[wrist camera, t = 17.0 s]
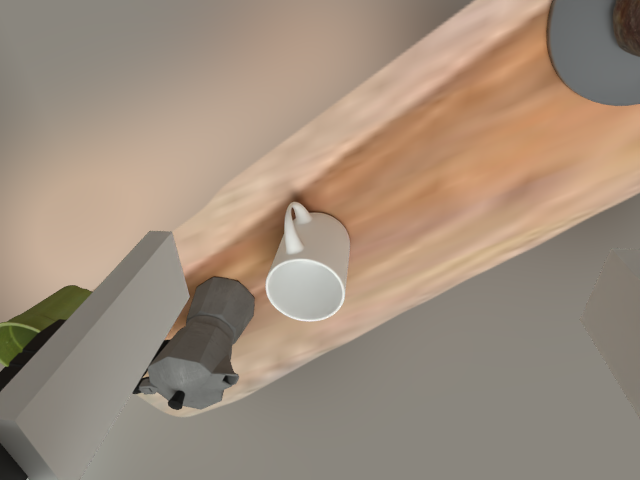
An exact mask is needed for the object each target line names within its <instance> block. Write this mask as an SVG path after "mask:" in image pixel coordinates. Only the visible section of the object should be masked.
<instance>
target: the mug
mask: <svg viewBox="0 0 640 480" xmlns="http://www.w3.org/2000/svg"><path fill="white" fill-rule="evenodd" d="M292 207H293V208H294V211H295V215H296V218H295V219H294V220H292V215H291V209H292ZM349 253H350V239H349V235H348V233H347V230H346V229H345V227H344V226H343V225H342V224H341V223H340V222H339V221H338V220H337V219H335V218H334V217H332V216H330V215H327V214H324V213H309V212H308V211H307V210H306V208H305V207H304V206H303V205H302V204H300V203H298V202H292V203H291V204H290V205H289V206H288V208H287V211H286V215H285V223H284V235H283V237H282V240H281V243H280V245H279V248H278V250H277V253H276V256H275V258H274V261H273V263H272V266H271V268H270V271H269V274H268V276H267V279H266V285H265V286H266V293H267V296H268V298H269V300H270V302H271V303H272V305H273V306H274V307H275V308H276V309H277V310H278V311H280V312H281V313H283V314H284V315H286V316H288V317H290V318H293V319H296V320H300V321H319V320H323V319H326V318H328V317H330V316H332V315H333V314H335V313H336V312H337V311H338V310H339V309H340V307H341V306H342V304H343V302H344V298H345V289H346V280H347V271H348V262H349Z"/></svg>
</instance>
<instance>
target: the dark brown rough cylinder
mask: <svg viewBox="0 0 640 480" xmlns="http://www.w3.org/2000/svg"><path fill="white" fill-rule="evenodd" d="M613 29H614V36H615V38H616V41H617V44H618V45H619V47H620V48H621V49H622V50H623V51H625V52H627V53H630V54H632V55H635V56H638V57H640V0H616V4H615V7H614V10H613Z"/></svg>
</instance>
